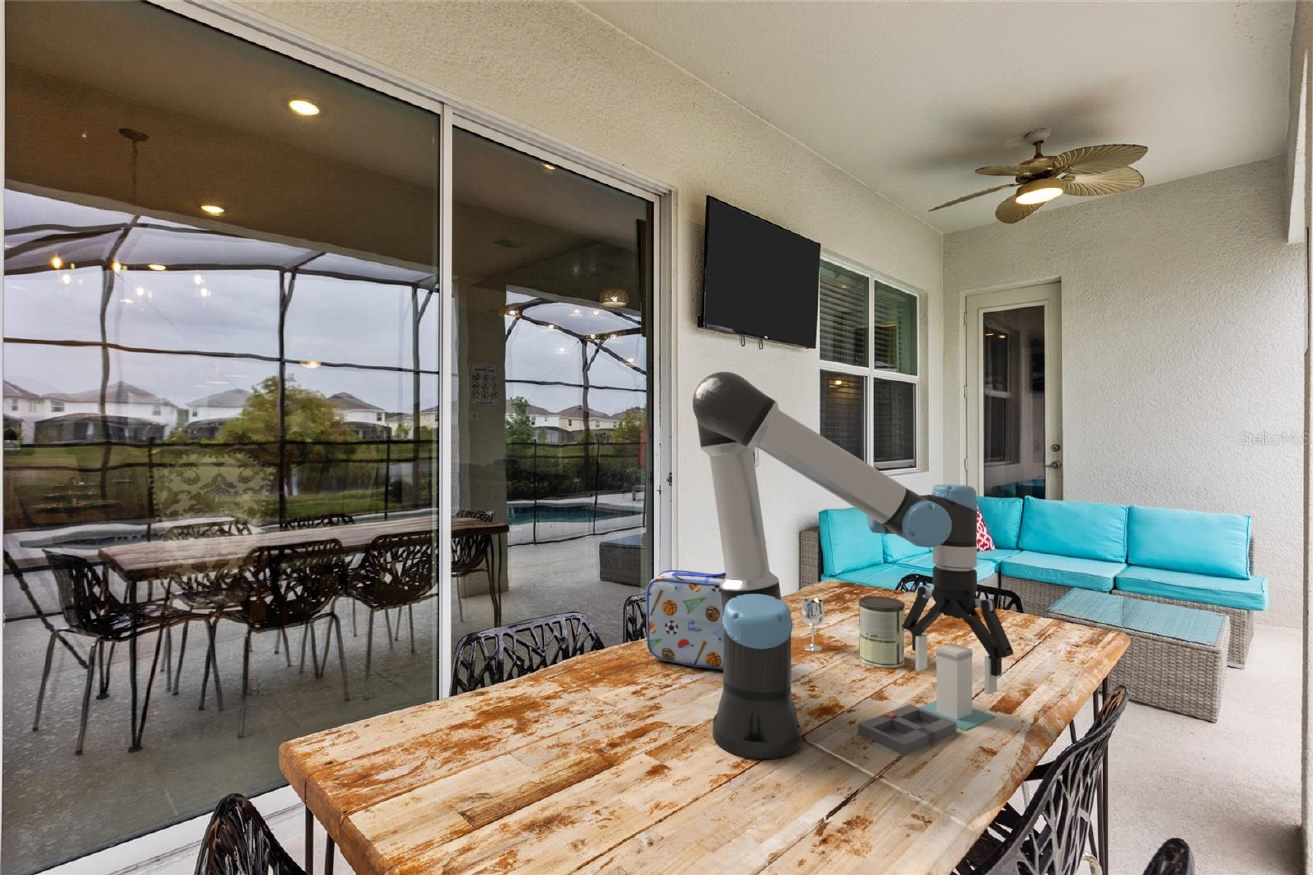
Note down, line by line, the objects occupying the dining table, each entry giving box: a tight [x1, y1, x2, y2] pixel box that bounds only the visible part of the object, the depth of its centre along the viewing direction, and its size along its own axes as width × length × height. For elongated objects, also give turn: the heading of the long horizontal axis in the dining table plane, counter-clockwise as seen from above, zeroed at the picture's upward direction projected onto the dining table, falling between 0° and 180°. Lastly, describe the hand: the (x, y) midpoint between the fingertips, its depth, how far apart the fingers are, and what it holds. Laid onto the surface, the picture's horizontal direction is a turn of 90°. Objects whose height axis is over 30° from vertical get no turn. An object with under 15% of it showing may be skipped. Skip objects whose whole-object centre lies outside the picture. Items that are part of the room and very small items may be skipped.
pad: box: [917, 700, 996, 732], centre depth 115 cm, size 10×10×1 cm
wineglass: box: [800, 597, 826, 652], centre depth 154 cm, size 6×6×12 cm
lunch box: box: [645, 569, 726, 670], centre depth 143 cm, size 28×10×22 cm, turn 71°
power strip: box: [857, 704, 957, 756], centre depth 107 cm, size 15×9×3 cm, turn 123°
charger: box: [935, 642, 973, 720], centre depth 115 cm, size 5×4×12 cm
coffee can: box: [858, 596, 905, 669], centre depth 145 cm, size 10×10×14 cm
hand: (954, 680), depth 115 cm, fingers open, 13 cm apart
